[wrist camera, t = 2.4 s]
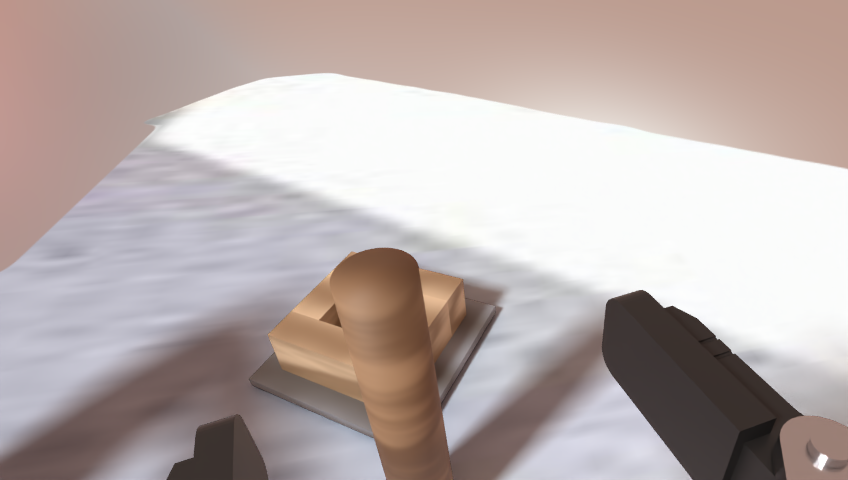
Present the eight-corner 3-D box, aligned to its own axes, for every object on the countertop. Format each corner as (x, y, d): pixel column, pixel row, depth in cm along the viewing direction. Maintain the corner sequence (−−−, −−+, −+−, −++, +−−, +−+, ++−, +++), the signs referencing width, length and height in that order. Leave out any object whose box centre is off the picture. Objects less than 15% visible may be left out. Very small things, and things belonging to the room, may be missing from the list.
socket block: (410, 454, 38) (400, 411, 35) (251, 385, 45) (232, 344, 43) (495, 312, 49) (493, 270, 46) (356, 274, 56) (346, 236, 54)
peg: (440, 552, 32) (388, 315, 21) (385, 523, 34) (311, 291, 23) (467, 495, 35) (434, 257, 24) (416, 471, 37) (362, 241, 26)
